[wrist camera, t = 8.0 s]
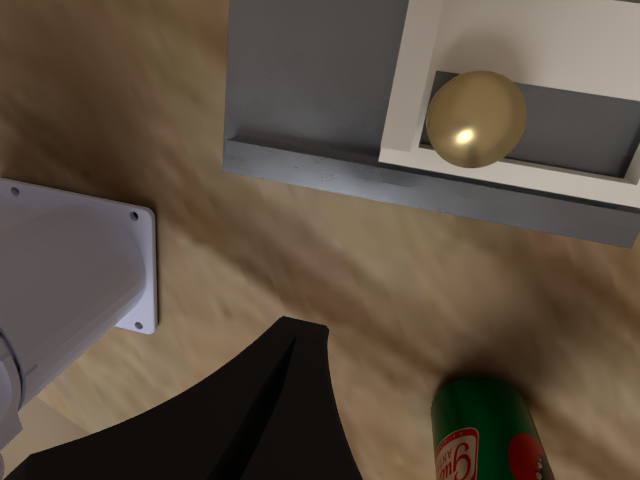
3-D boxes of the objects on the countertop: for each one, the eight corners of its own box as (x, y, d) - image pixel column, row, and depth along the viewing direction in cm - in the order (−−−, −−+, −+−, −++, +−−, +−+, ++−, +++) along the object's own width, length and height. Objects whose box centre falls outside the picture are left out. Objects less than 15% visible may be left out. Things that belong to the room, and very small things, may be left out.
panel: (379, 156, 18) (374, 176, 14) (439, -148, 13) (451, -215, 10) (631, 200, 16) (686, 233, 13) (778, -117, 12) (908, -180, 9)
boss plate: (231, 165, 20) (195, 186, 17) (252, -219, 15) (205, -309, 11) (617, 237, 18) (668, 278, 15) (810, -175, 13) (967, -268, 9)
